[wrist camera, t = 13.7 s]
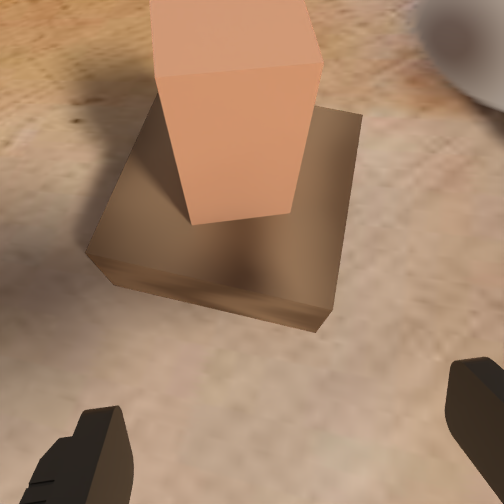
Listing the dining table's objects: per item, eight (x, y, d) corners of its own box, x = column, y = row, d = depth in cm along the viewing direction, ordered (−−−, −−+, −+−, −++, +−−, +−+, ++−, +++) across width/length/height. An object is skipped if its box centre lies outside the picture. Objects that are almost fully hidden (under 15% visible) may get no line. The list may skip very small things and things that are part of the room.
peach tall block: (191, 225, 19) (154, 78, 11) (183, 145, 21) (147, -29, 13) (290, 213, 20) (324, 62, 12) (273, 136, 22) (291, -39, 14)
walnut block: (115, 287, 23) (84, 252, 19) (177, 134, 28) (165, 77, 24) (314, 334, 22) (332, 309, 18) (342, 167, 27) (362, 114, 23)
